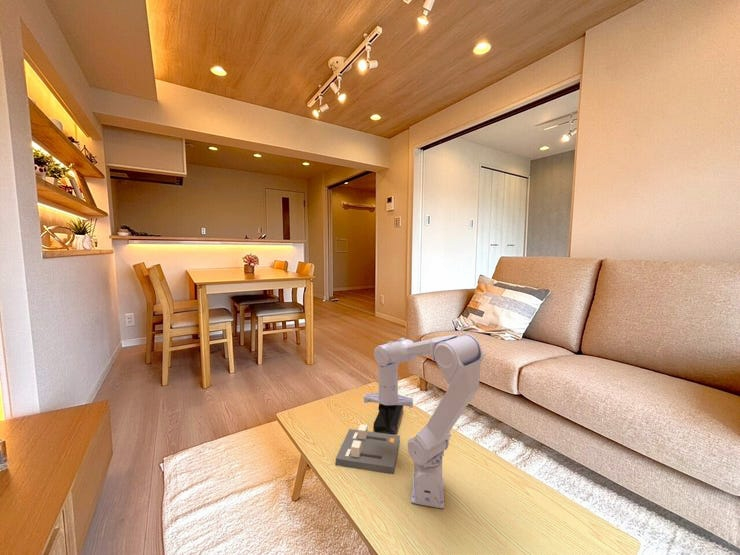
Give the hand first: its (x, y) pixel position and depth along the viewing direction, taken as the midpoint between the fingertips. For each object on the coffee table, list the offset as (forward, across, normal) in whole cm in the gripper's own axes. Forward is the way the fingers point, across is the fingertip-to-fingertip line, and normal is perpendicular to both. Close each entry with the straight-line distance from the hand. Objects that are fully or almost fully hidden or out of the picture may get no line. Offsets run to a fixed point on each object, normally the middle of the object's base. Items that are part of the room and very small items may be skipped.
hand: (388, 426), depth 89 cm
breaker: (+7, +9, +4) cm, 12 cm away
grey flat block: (+9, +6, 0) cm, 11 cm away
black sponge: (+10, +3, -17) cm, 20 cm away
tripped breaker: (+7, +9, -4) cm, 12 cm away
